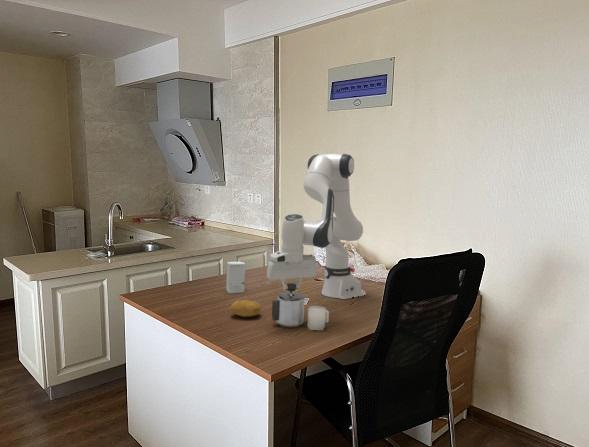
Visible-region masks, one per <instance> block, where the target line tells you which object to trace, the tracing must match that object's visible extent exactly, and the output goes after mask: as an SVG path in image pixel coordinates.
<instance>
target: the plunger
mask: <svg viewBox="0 0 589 447" xmlns="http://www.w3.org/2000/svg"><path fill="white" fill-rule="evenodd" d="M286 285H288V290H287V292H290V296H292V292H295V291H297V289H296V283H295V282H287V283H286ZM290 301H292V300H290Z"/></svg>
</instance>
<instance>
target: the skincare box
mask: <svg viewBox="0 0 589 447" xmlns="http://www.w3.org/2000/svg"><path fill="white" fill-rule="evenodd" d="M245 281H246V263H245V262H243V261H227V262H226V286H225V290H226V292H227V294H239V293H240V294H241V293H245V284H246V282H245Z"/></svg>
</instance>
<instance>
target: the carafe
mask: <svg viewBox="0 0 589 447" xmlns="http://www.w3.org/2000/svg"><path fill="white" fill-rule="evenodd" d="M290 300H292V301H290ZM271 303H272V306H271V307H272V310H271V311H272V312H271V320H272V322H274V321H275V322H276V324H277V325H278V326H279V325H280V326H279V327H282V326H283V327H282V328H286V327H296V328H298V327H297V326H300V325H302V324H304V317H305V316H304V315H305V296H304V295H303V294H301V293H299V292H298V291H297V290H295V291H292V296H290V291H285V292H278V293H277V298H276V299H275V300H272V302H271ZM302 326H303V325H302ZM300 327H301V326H300Z"/></svg>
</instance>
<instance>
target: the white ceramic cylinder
mask: <svg viewBox="0 0 589 447" xmlns="http://www.w3.org/2000/svg"><path fill="white" fill-rule="evenodd" d="M329 319H330V311H329V310H328V309H326V307H325V306H322V305H311V306H308V307H307V324H306V325H307V326H306V327H308V328H309V329H311V330H310V331H312V330H322V331H324V330H325V329H326V323H329ZM308 328H307V329H308ZM324 328H325V329H324ZM309 329H308V330H309ZM323 329H324V330H323Z"/></svg>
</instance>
